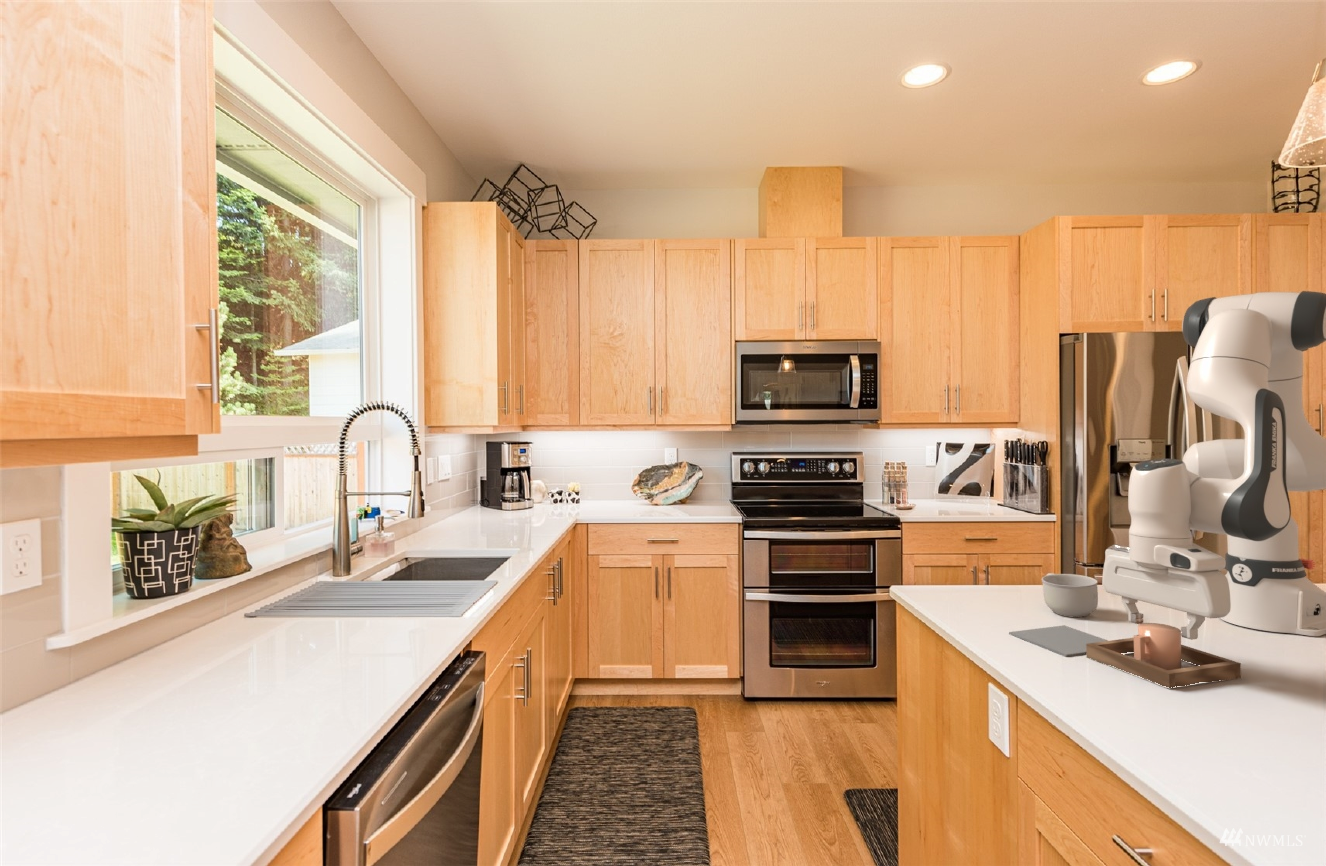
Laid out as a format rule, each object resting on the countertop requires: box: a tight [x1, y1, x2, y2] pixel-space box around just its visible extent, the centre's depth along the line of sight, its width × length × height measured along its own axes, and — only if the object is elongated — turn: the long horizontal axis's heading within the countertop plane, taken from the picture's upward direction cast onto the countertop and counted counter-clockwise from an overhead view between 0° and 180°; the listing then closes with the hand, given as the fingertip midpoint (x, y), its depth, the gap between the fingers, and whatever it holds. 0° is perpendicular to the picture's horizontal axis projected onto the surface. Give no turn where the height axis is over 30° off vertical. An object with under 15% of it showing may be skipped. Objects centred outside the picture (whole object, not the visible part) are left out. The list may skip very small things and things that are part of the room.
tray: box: [1085, 637, 1242, 688], centre depth 115 cm, size 15×15×2 cm
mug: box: [1133, 622, 1183, 670], centre depth 114 cm, size 8×6×7 cm
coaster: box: [1008, 625, 1109, 658], centre depth 129 cm, size 14×14×1 cm
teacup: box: [1041, 572, 1099, 618], centre depth 149 cm, size 14×11×8 cm
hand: (1161, 630), depth 114 cm, fingers open, 8 cm apart
